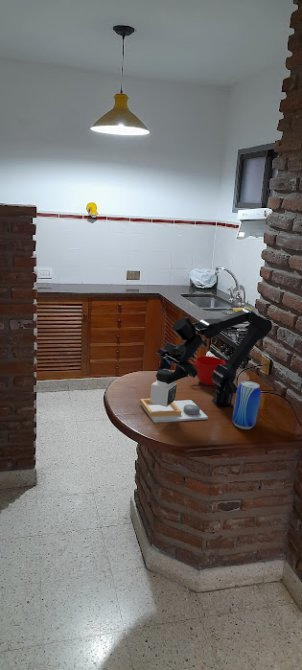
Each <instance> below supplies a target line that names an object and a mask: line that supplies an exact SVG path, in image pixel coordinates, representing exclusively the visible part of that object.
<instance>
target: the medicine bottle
mask: <svg viewBox="0 0 302 670" xmlns="http://www.w3.org/2000/svg"><path fill="white" fill-rule="evenodd" d="M173 372H174V371H172V370H170V369H169V370H168V369H161V370H157V371H156V374H157V377H156V381H154V382H153V383H151V387H150V397H149V399H150V402H152V403H155V404H158V405H162V406H165V407H168V406H169V405H170V404H171V403H172V402H174V401H176V395H177V385H178V383H177V382H175V381H174V382H172V383H170V384H167V383H166V382H167V380H168V379H169V377H170V376H171V375H172V374H173Z"/></svg>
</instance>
